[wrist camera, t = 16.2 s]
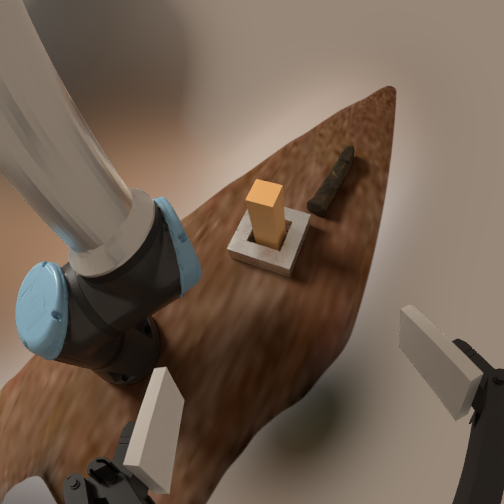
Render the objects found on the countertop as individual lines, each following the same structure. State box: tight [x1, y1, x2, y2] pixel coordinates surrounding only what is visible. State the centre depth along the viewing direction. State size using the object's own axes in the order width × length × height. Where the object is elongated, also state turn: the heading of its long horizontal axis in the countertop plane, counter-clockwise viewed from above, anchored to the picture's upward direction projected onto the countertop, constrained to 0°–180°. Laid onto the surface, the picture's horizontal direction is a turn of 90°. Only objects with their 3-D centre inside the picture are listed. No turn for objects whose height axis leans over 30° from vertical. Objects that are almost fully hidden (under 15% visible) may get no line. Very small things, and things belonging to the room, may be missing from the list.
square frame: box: [227, 207, 311, 278], centre depth 50 cm, size 11×11×4 cm
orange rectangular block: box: [245, 179, 286, 251], centre depth 45 cm, size 4×4×14 cm
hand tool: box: [307, 146, 354, 217], centre depth 54 cm, size 19×4×5 cm, turn 144°
